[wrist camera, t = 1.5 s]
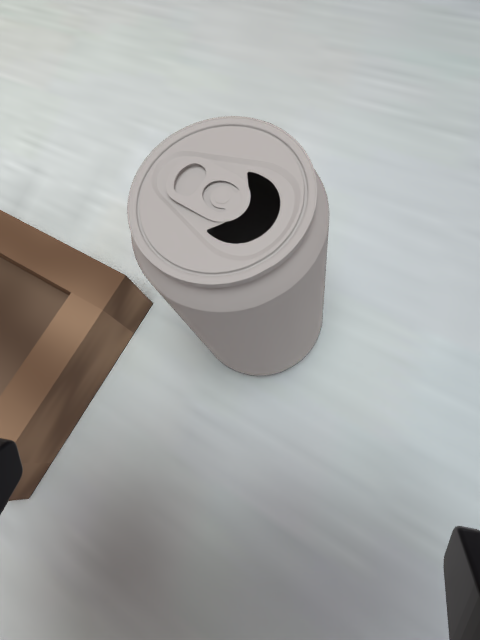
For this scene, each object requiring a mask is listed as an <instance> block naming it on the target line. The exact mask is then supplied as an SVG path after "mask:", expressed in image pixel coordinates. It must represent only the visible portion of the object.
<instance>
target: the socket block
mask: <svg viewBox="0 0 480 640" xmlns="http://www.w3.org/2000/svg"><path fill="white" fill-rule="evenodd" d="M152 304H153V303H152V302H151V301H150V300H149V299H148V298H147V297H146V296H145V295H144V294H143V293H142V292H141V291H140V290H139V289H138V288H137V287H136V285H135V284H134V283H133V282H132V281H131V280H130V279H129V278H128V277H127V276H126V275H124V274H122V273H120V272H118V271H116V270H114V269H112V268H111V267H109V266H107V265H105V264H103V263H101V262H99V261H97V260H95V259H93V258H91V257H89V256H88V255H86V254H84V253H82V252H80V251H78V250H76V249H74V248H72V247H70V246H68V245H66V244H65V243H63V242H61V241H59V240H57V239H55V238H53V237H51V236H49V235H47V234H45V233H43V232H42V231H40V230H38V229H36V228H34V227H32V226H30V225H28V224H26V223H24V222H22V221H20V220H19V219H17V218H15V217H13V216H11V215H9V214H7V213H5V212H3V211H1V210H0V438H3V439H8V440H12V441H14V442H15V443H16V445H17V448H18V452H19V455H20V459H21V463H22V466H23V473H22V476H21V479H20V481H19V483H18V485H17V486H16V488H15V490H14V492H13V493H12V495H11V497H10V499H9V500H8V501H12V500H21V499H29V498H30V496H31V494H32V493H33V491H34V490H35V488H36V487H37V485H38V483H39V482H40V480H41V479H42V477H43V476H44V474H45V472H46V471H47V469H48V468H49V466H50V465H51V463H52V461H53V460H54V458H55V457H56V455H57V454H58V452H59V450H60V449H61V447H62V446H63V444H64V443H65V441H66V439H67V438H68V436H69V435H70V433H71V432H72V430H73V428H74V427H75V425H76V424H77V422H78V421H79V419H80V417H81V416H82V414H83V413H84V411H85V410H86V408H87V406H88V405H89V403H90V402H91V400H92V399H93V397H94V395H95V394H96V392H97V391H98V389H99V388H100V386H101V384H102V383H103V381H104V380H105V378H106V377H107V375H108V373H109V372H110V370H111V369H112V367H113V366H114V364H115V362H116V361H117V359H118V358H119V356H120V355H121V353H122V351H123V350H124V348H125V347H126V345H127V344H128V342H129V340H130V339H131V337H132V336H133V334H134V333H135V331H136V329H137V328H138V326H139V325H140V323H141V322H142V320H143V318H144V317H145V315H146V314H147V312H148V311H149V309H150V307H151V306H152Z"/></svg>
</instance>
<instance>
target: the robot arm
mask: <svg viewBox="0 0 480 640" xmlns="http://www.w3.org/2000/svg"><path fill="white" fill-rule="evenodd" d="M22 473H23V466H22V463H21V459H20V455H19V452H18V448H17V445H16V443H15V442H14V441H12V440H8V439H3V438H0V514H1V513H2V511H3V509H4V507H5V506H6V504H7V502H8V500H9V499H10V497H11V495H12V493H13V492H14V490H15V488H16V486H17V485H18V483H19V481H20V479H21V476H22ZM444 578H445V591H446V603H447V615H448V627H449V639H450V640H480V531H479V530H477V529H473V528H468V527H462V526H456V527H455V528H454V530H453V532H452V535H451V538H450V541H449V543H448V546H447V549H446V552H445V556H444Z"/></svg>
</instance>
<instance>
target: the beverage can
mask: <svg viewBox="0 0 480 640" xmlns="http://www.w3.org/2000/svg"><path fill="white" fill-rule="evenodd" d="M127 214H128V222H129V227H130V231H131V238H132V245H133V251H134V254H135V257H136V260H137V262H138V265H139V267H140V268H141V270H142V272H143V273H144V275H145V276H146V278H147V279H148V280H149V282H150V283H151V284H152V285H153V286H154V287H155V289H156V290H157V291H158V292H159V293H160V294H161V295H162V296H163V298H164V299H165V300H166V301H167V302H168V303H169V304H170V306H171V307H172V308H173V309H174V310H175V311H176V312H177V313H178V315H179V316H180V317H181V318H182V319H183V320H184V321H185V323H186V324H187V325H188V326H189V327H190V328H191V329H192V331H193V332H194V333H195V334H196V335H197V336H198V337H199V338H200V340H201V341H202V342H203V343H204V344H205V345H206V346H207V348H208V349H209V350H210V351H211V352H212V353H213V354H214V355H215V357H216V358H217V359H218V360H220V361H221V362H222V363H223V364H225V365H226V366H228V367H229V368H231V369H233V370H235V371H238V372H241V373H244V374H249V375H258V376H260V375H271V374H275V373H279V372H282V371H284V370H286V369H288V368H290V367H292V366H294V365H295V364H297V363H298V362H300V361H301V360H302V359H303V358H304V357H305V356H306V355H307V354H308V353H309V352H310V350H311V349H312V347H313V346H314V344H315V342H316V340H317V338H318V336H319V333H320V330H321V326H322V317H323V302H324V288H325V273H326V258H327V244H328V229H329V205H328V198H327V194H326V191H325V188H324V185H323V183H322V181H321V179H320V177H319V176H318V174H317V172H316V171H315V169H314V168H313V165H312V163H311V161H310V159H309V157H308V155H307V153H306V152H305V150H304V149H303V148H302V146H301V145H300V144H299V143H298V142H297V141H296V140H295V139H294V138H293V137H292V136H291V135H289V134H288V133H287V132H285V131H284V130H282V129H281V128H279V127H277V126H275V125H273V124H271V123H268V122H265V121H262V120H258V119H254V118H249V117H238V116H228V117H217V118H212V119H207V120H203V121H200V122H197V123H194V124H192V125H189V126H187V127H185V128H183V129H181V130H179V131H177V132H175V133H174V134H172V135H171V136H169V137H168V138H166V139H165V140H164V141H162V142H161V143H160V144H159V145H158V146H157V147H156V148H155V149H154V150H153V151H152V152H151V153H150V154H149V155H148V156H147V158H146V159H145V160H144V162H143V163H142V165H141V166H140V168H139V169H138V171H137V173H136V175H135V177H134V180H133V182H132V185H131V188H130V192H129V197H128V205H127Z"/></svg>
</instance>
